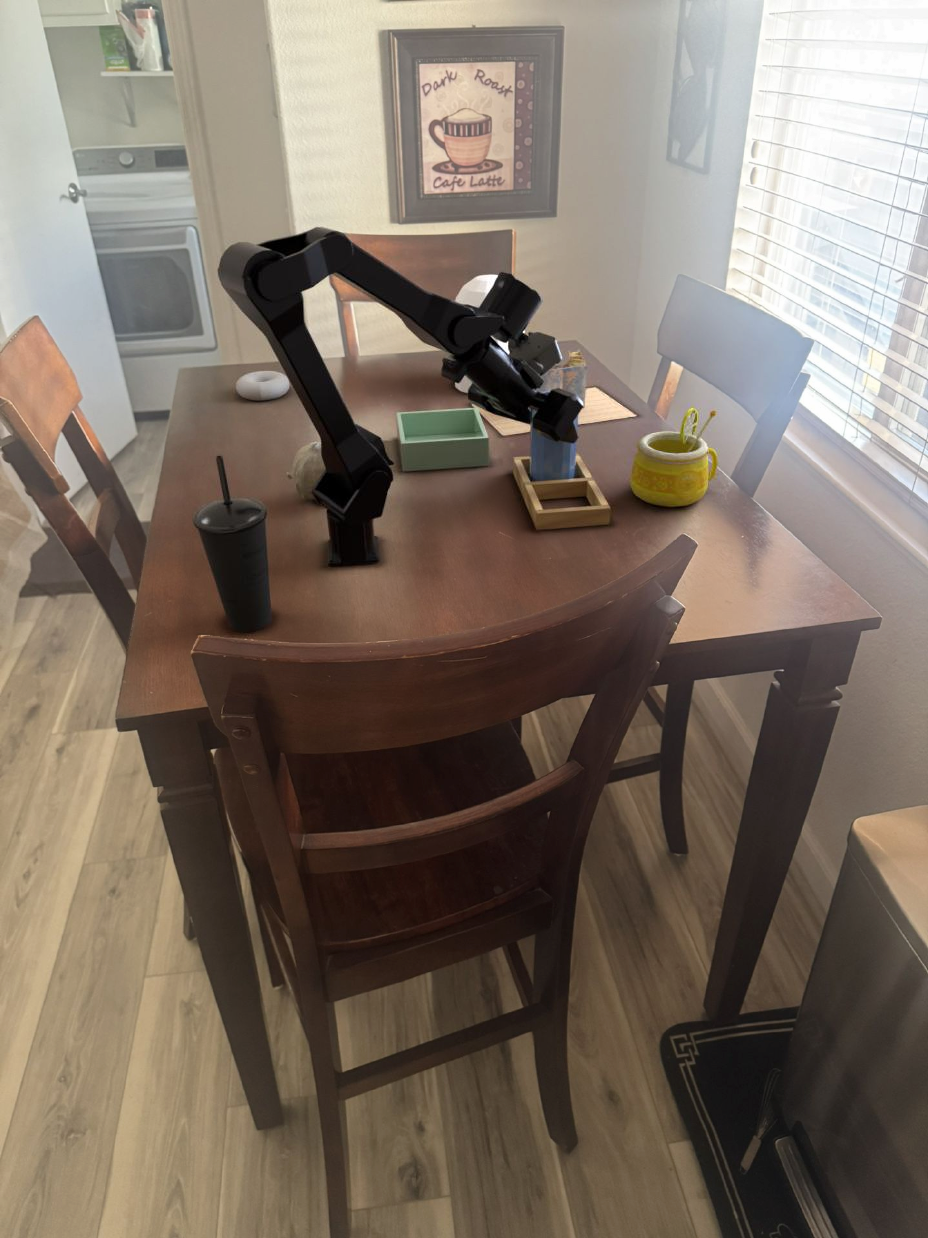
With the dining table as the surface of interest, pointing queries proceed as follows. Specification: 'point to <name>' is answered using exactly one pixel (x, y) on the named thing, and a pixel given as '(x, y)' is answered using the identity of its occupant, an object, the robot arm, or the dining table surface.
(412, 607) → the dining table surface
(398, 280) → the robot arm
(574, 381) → the architectural model on board
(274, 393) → the donut
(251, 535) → the drinking cup
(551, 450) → the tumbler
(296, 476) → the garlic bulb
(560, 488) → the wooden rectangular frame
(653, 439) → the mug
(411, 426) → the basin
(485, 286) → the container
